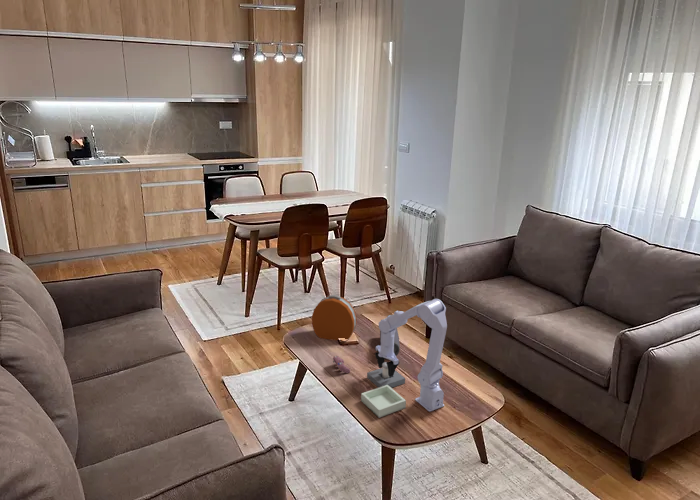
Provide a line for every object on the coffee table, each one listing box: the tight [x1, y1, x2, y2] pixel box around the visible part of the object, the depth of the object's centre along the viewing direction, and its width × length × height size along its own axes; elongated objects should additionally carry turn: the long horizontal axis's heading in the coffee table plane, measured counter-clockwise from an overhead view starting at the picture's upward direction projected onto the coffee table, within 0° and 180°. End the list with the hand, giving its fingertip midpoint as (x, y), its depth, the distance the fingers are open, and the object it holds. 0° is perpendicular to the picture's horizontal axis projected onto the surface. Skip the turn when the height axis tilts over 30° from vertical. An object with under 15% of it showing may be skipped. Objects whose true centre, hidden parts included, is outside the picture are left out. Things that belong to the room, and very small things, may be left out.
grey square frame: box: [366, 367, 406, 389], centre depth 220 cm, size 12×12×2 cm
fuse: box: [382, 361, 390, 380], centre depth 219 cm, size 4×4×8 cm
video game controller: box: [332, 355, 351, 374], centre depth 228 cm, size 10×5×7 cm, turn 21°
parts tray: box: [360, 385, 407, 419], centre depth 203 cm, size 13×13×4 cm
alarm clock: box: [311, 294, 358, 341], centre depth 257 cm, size 22×10×23 cm, turn 74°
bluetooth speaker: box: [379, 328, 401, 357], centre depth 247 cm, size 23×9×10 cm, turn 179°
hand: (386, 371), depth 219 cm, fingers open, 7 cm apart
